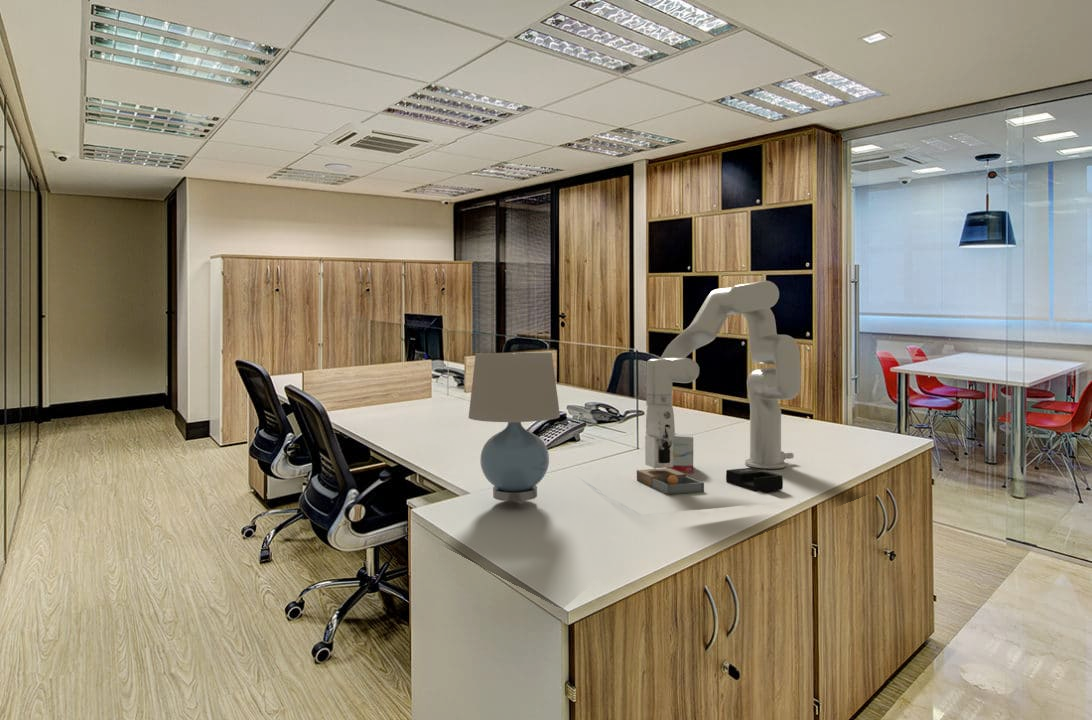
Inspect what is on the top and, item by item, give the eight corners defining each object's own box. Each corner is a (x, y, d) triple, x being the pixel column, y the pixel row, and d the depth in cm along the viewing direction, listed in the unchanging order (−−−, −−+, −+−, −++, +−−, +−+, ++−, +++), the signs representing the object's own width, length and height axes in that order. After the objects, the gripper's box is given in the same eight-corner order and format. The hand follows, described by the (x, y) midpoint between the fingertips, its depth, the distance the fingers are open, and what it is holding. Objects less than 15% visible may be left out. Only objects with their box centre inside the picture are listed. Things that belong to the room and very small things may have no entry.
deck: (669, 477, 187) (669, 467, 187) (686, 484, 178) (686, 474, 178) (636, 480, 184) (636, 470, 184) (651, 487, 175) (651, 476, 175)
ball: (676, 487, 175) (673, 477, 177) (681, 482, 173) (677, 472, 174) (667, 487, 174) (664, 478, 176) (671, 483, 172) (668, 473, 173)
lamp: (527, 512, 149) (526, 353, 148) (450, 500, 162) (448, 353, 161) (577, 492, 170) (576, 352, 169) (504, 482, 183) (503, 352, 182)
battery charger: (725, 483, 181) (725, 469, 181) (752, 480, 184) (752, 467, 184) (755, 493, 169) (755, 478, 169) (783, 489, 172) (783, 475, 172)
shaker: (663, 463, 186) (663, 431, 185) (673, 467, 180) (673, 433, 180) (645, 464, 184) (645, 431, 184) (654, 468, 178) (654, 434, 178)
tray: (685, 484, 178) (685, 475, 178) (704, 491, 169) (704, 482, 169) (651, 487, 175) (651, 478, 175) (668, 495, 166) (668, 485, 166)
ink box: (693, 474, 192) (693, 436, 192) (666, 473, 194) (665, 436, 194) (692, 468, 201) (692, 432, 201) (666, 468, 203) (666, 432, 202)
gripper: (685, 402, 174) (685, 465, 175) (657, 397, 191) (657, 455, 191) (661, 403, 172) (661, 467, 172) (635, 398, 189) (635, 456, 189)
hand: (659, 460), depth 182 cm, fingers closed on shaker, 6 cm apart
